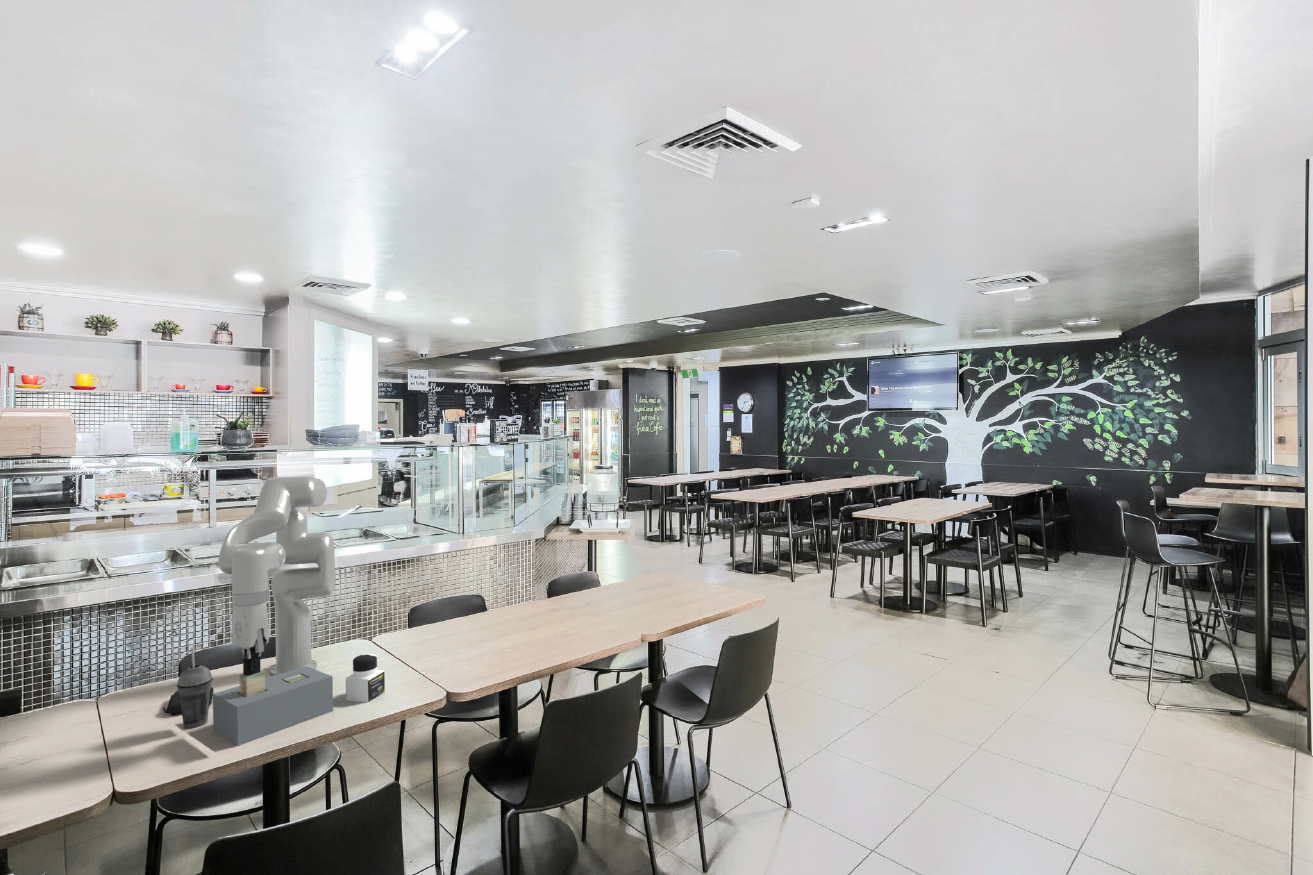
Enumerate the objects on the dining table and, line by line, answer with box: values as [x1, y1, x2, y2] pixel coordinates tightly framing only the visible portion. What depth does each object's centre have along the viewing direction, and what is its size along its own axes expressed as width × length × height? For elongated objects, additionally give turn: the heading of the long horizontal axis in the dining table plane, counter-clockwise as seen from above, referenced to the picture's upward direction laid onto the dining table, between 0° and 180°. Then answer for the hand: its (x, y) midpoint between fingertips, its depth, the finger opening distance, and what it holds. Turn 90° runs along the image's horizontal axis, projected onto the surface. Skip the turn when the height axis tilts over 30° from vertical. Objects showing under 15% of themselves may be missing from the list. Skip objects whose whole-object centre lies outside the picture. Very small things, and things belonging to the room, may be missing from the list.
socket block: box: [212, 666, 334, 747], centre depth 157 cm, size 14×22×10 cm, turn 145°
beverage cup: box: [176, 646, 214, 730], centre depth 156 cm, size 7×7×20 cm
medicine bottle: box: [345, 653, 386, 703], centre depth 171 cm, size 7×7×12 cm
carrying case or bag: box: [162, 686, 214, 717], centre depth 170 cm, size 11×3×15 cm
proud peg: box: [239, 670, 266, 697], centre depth 153 cm, size 4×4×9 cm
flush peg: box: [283, 674, 307, 683], centre depth 161 cm, size 4×4×9 cm
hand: (252, 673), depth 153 cm, fingers closed
